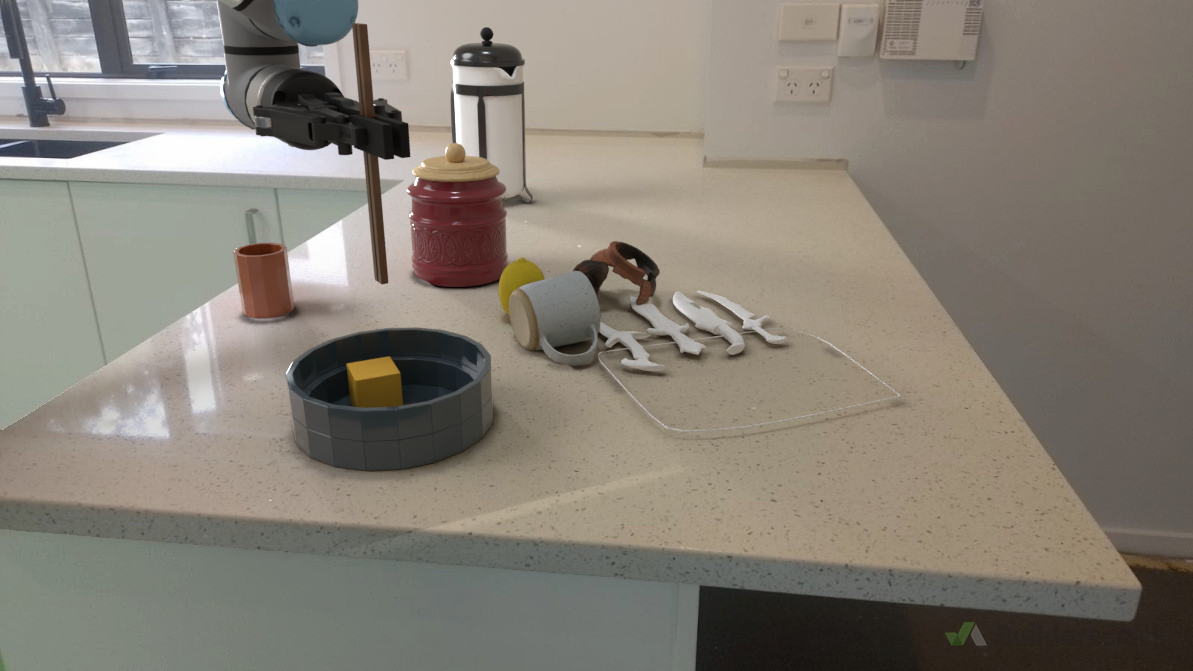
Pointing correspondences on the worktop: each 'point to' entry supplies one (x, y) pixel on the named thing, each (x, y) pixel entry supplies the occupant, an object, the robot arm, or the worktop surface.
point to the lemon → (517, 279)
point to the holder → (264, 280)
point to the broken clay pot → (622, 268)
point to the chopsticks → (370, 160)
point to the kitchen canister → (457, 220)
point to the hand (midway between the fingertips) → (396, 141)
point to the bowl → (392, 434)
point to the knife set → (704, 321)
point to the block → (374, 383)
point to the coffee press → (491, 108)
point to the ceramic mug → (556, 316)
